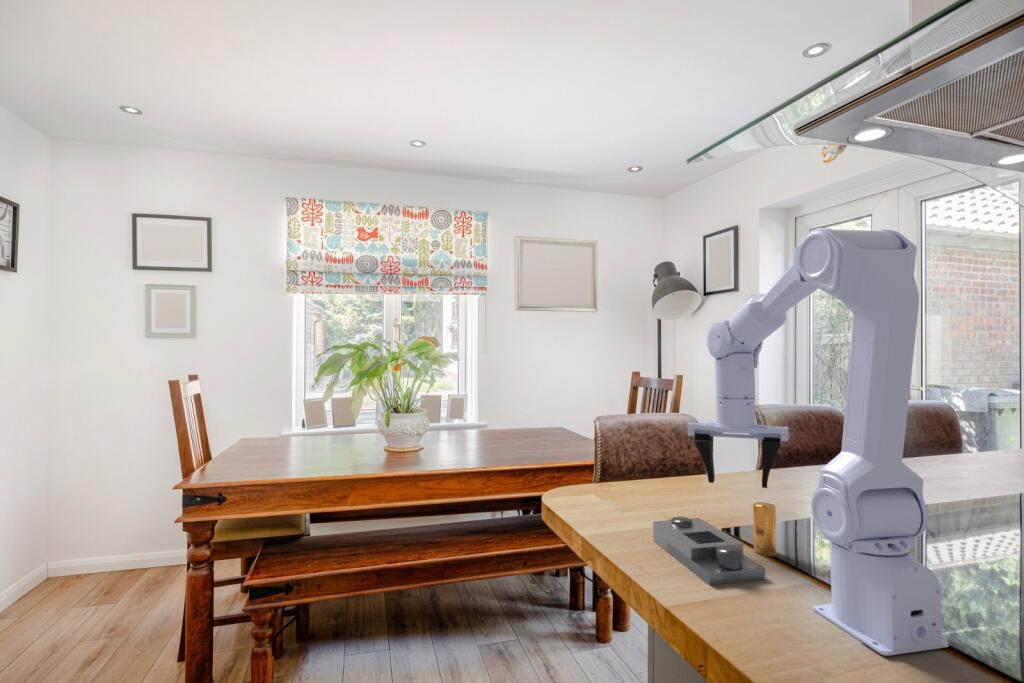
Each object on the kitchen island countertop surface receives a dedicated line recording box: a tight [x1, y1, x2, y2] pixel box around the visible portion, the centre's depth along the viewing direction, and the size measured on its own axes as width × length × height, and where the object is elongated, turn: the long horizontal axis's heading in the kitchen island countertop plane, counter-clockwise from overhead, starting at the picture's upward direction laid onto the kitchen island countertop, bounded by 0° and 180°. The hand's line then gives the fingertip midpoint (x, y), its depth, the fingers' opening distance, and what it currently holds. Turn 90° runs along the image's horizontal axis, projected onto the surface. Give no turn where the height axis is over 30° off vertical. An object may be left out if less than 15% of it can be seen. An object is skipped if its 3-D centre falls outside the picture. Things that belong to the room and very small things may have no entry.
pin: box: [752, 501, 777, 557], centre depth 77 cm, size 3×3×7 cm
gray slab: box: [652, 516, 766, 586], centre depth 75 cm, size 16×8×4 cm, turn 11°
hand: (737, 483), depth 81 cm, fingers open, 7 cm apart
